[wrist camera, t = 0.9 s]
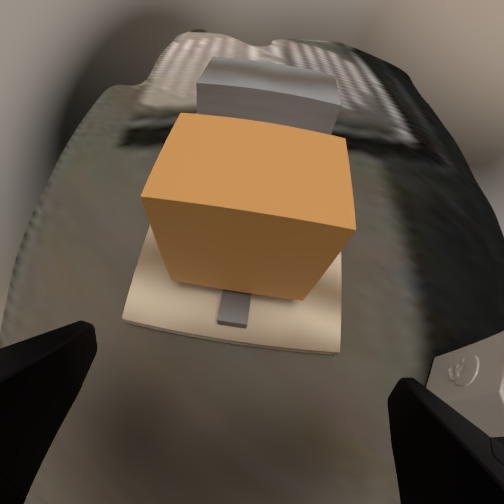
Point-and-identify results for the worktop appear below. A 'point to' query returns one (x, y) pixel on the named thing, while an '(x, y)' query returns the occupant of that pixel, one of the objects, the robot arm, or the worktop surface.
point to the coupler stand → (233, 302)
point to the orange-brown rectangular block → (250, 204)
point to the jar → (473, 383)
